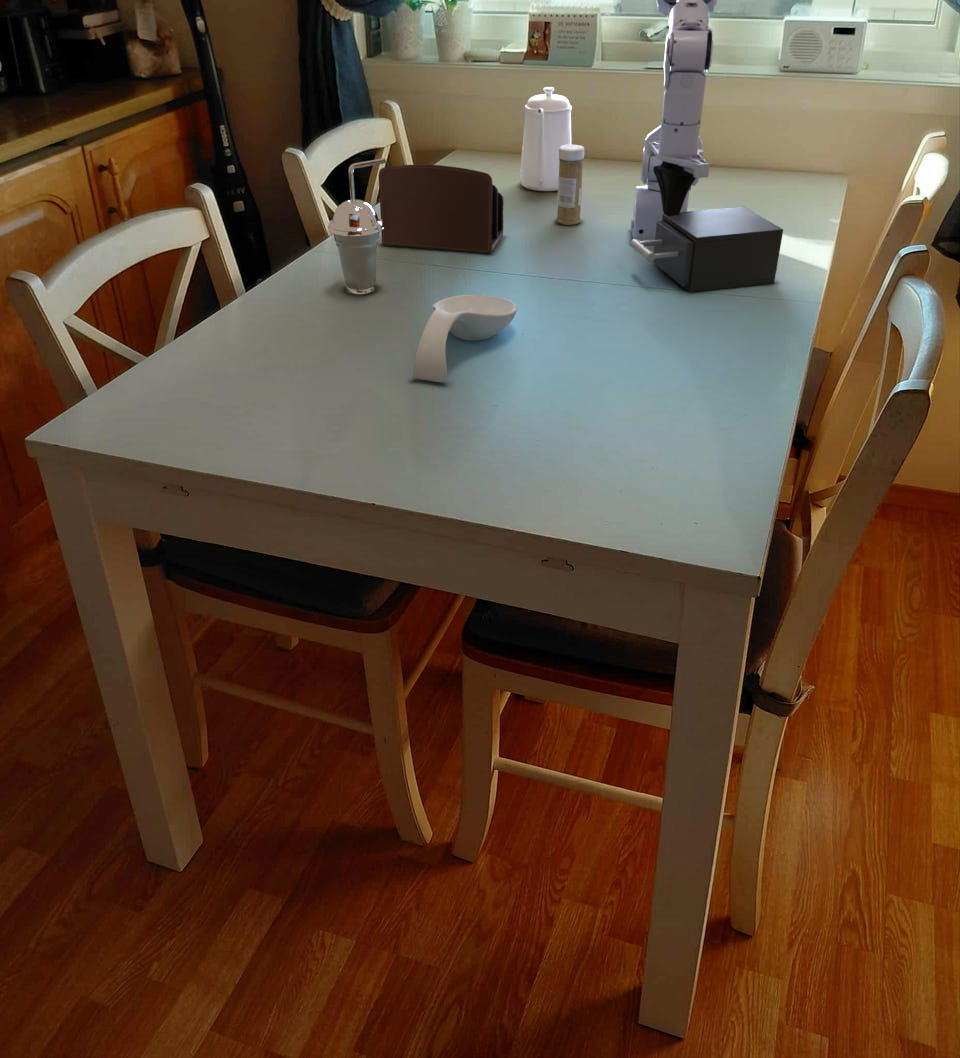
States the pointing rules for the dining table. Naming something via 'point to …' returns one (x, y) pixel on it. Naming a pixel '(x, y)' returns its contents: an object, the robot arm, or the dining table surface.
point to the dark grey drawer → (668, 252)
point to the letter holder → (440, 208)
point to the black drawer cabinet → (729, 247)
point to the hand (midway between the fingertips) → (671, 214)
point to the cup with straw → (357, 238)
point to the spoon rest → (458, 329)
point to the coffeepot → (544, 140)
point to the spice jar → (570, 184)
